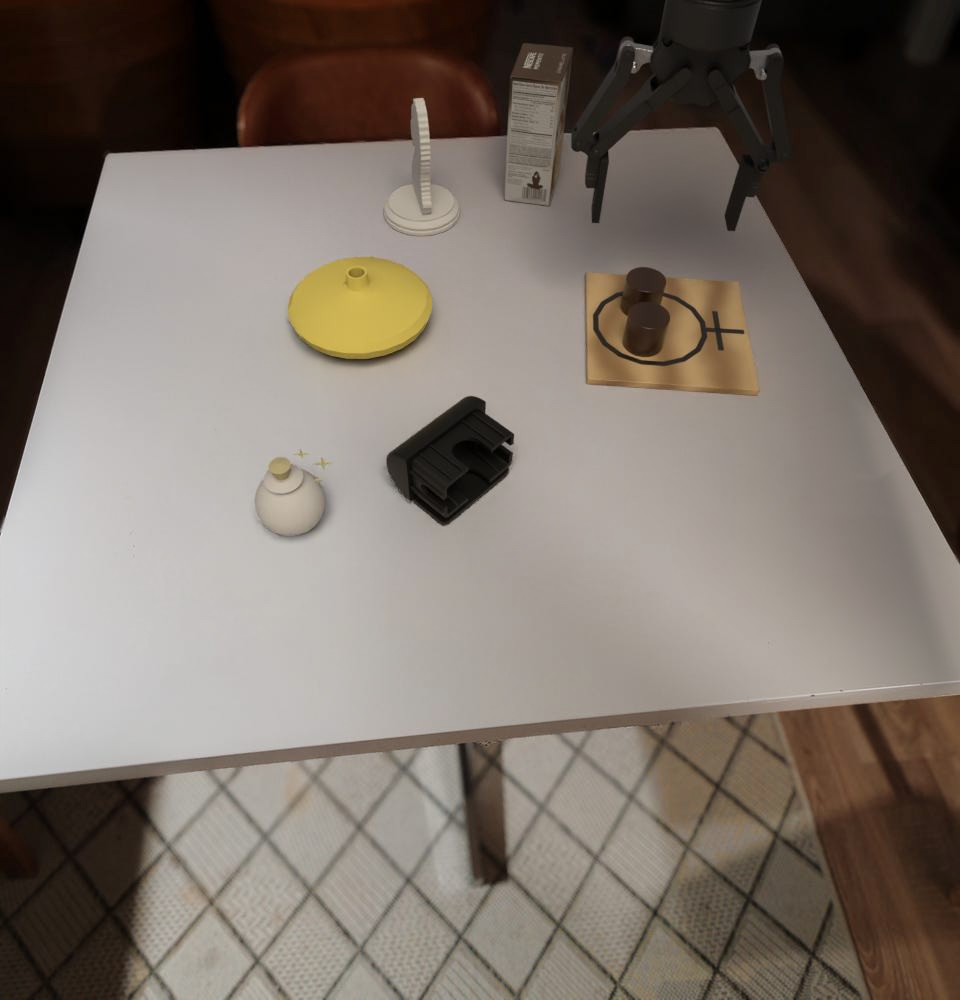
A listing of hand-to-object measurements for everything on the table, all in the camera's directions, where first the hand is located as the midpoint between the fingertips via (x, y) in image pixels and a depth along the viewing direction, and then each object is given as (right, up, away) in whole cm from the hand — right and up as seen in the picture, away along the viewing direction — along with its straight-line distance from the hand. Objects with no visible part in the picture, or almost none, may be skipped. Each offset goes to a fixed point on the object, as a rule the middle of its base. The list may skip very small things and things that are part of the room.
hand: (662, 219), depth 78 cm
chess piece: (-26, +8, +21) cm, 35 cm away
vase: (-32, -9, +8) cm, 34 cm away
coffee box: (-11, +14, +26) cm, 31 cm away
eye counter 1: (0, -7, +10) cm, 12 cm away
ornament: (-35, -31, -8) cm, 47 cm away
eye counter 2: (-1, -11, +6) cm, 13 cm away
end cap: (-21, -27, -5) cm, 34 cm away
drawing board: (+2, -10, +8) cm, 13 cm away
